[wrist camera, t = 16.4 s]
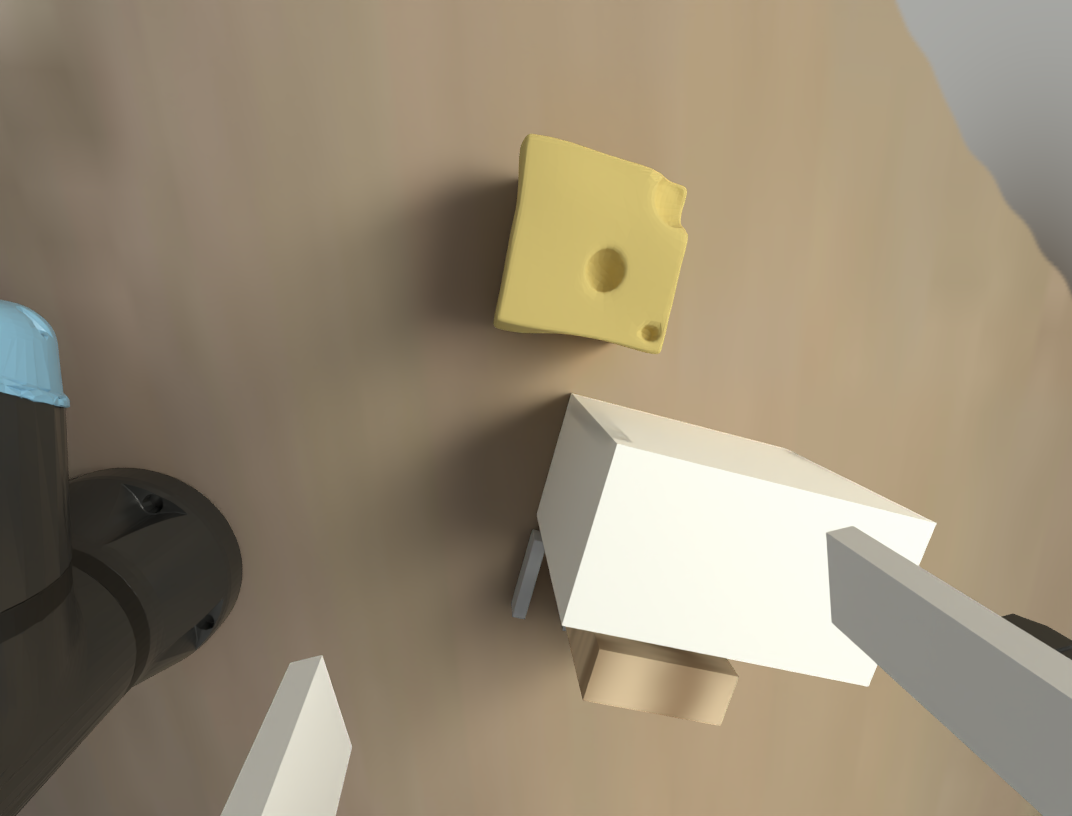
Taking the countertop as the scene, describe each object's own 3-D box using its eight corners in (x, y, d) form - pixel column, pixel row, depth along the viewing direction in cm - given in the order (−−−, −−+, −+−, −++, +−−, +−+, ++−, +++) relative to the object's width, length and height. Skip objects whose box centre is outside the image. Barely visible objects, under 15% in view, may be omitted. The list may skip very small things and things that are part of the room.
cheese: (657, 204, 39) (713, 172, 30) (622, 351, 41) (664, 367, 31) (515, 169, 38) (525, 123, 28) (486, 322, 40) (485, 329, 30)
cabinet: (511, 602, 44) (523, 752, 30) (571, 393, 41) (617, 443, 27) (715, 644, 47) (820, 801, 32) (786, 448, 44) (936, 523, 29)
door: (554, 605, 45) (578, 714, 33) (569, 556, 44) (599, 649, 32) (657, 626, 46) (715, 738, 34) (673, 579, 45) (738, 676, 33)
